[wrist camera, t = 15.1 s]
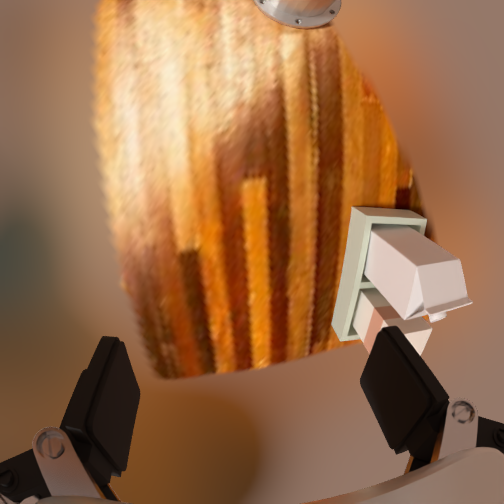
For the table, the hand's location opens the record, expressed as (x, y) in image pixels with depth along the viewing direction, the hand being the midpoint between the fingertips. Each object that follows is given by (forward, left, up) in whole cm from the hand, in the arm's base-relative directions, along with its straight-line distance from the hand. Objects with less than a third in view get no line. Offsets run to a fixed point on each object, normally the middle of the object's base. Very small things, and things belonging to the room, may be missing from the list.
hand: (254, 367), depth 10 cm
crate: (+12, +23, -30) cm, 40 cm away
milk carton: (+7, +23, -30) cm, 38 cm away
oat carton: (+17, +23, -30) cm, 41 cm away
